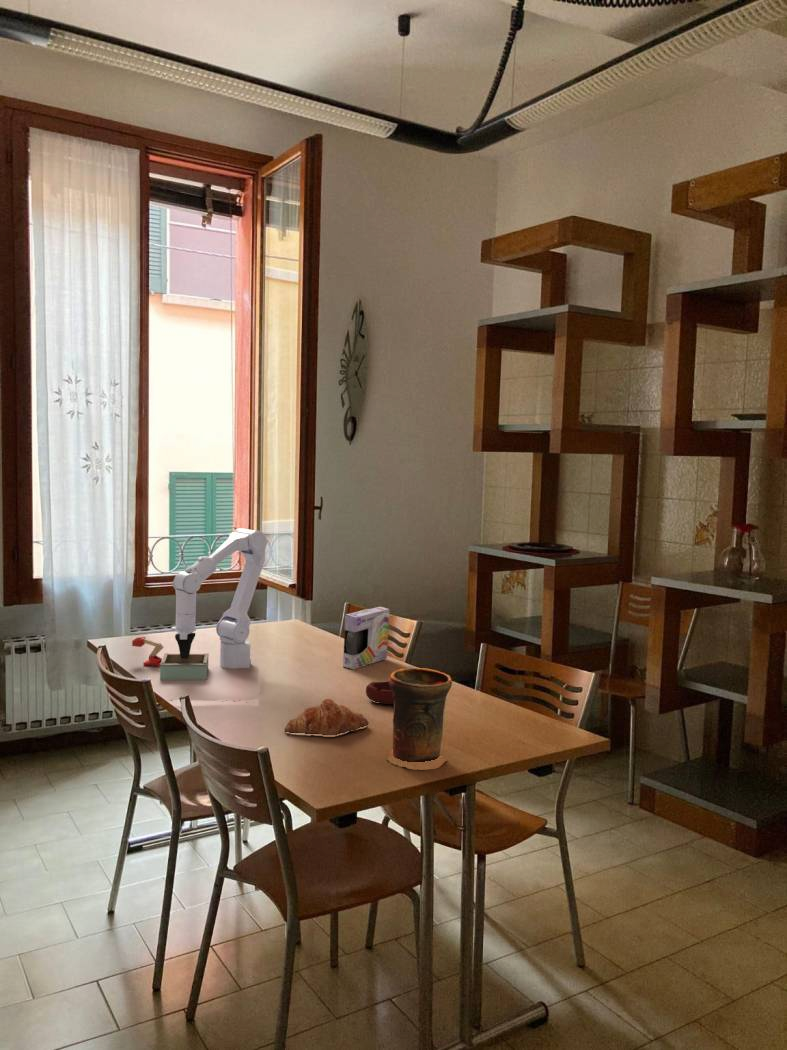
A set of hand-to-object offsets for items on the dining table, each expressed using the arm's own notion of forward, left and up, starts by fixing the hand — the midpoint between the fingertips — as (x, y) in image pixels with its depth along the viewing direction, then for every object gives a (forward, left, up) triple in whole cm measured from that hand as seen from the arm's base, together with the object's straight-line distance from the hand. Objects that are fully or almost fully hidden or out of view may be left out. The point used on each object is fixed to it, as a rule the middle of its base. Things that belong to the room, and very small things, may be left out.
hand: (184, 658), depth 255 cm
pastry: (-38, +47, -7) cm, 61 cm away
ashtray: (-62, +23, -7) cm, 66 cm away
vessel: (-58, +67, -7) cm, 89 cm away
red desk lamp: (+10, -11, -7) cm, 16 cm away
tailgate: (0, +4, -5) cm, 7 cm away
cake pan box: (-56, -17, -7) cm, 59 cm away
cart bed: (0, -1, -6) cm, 6 cm away
